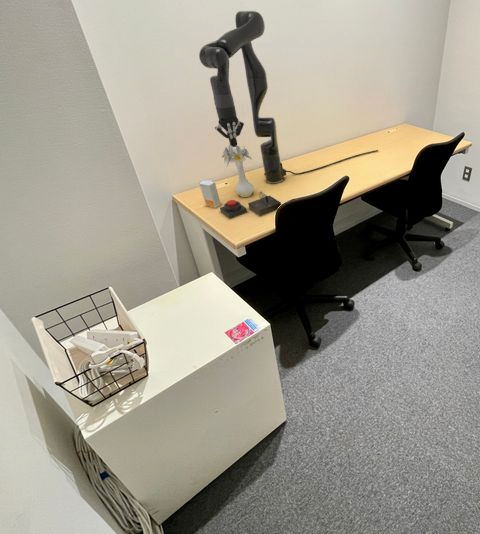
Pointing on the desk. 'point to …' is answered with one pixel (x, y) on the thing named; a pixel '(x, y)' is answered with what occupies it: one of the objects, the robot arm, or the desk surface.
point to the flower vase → (239, 169)
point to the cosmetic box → (210, 193)
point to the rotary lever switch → (264, 206)
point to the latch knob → (263, 198)
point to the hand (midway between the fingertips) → (234, 146)
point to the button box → (233, 210)
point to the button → (231, 203)
